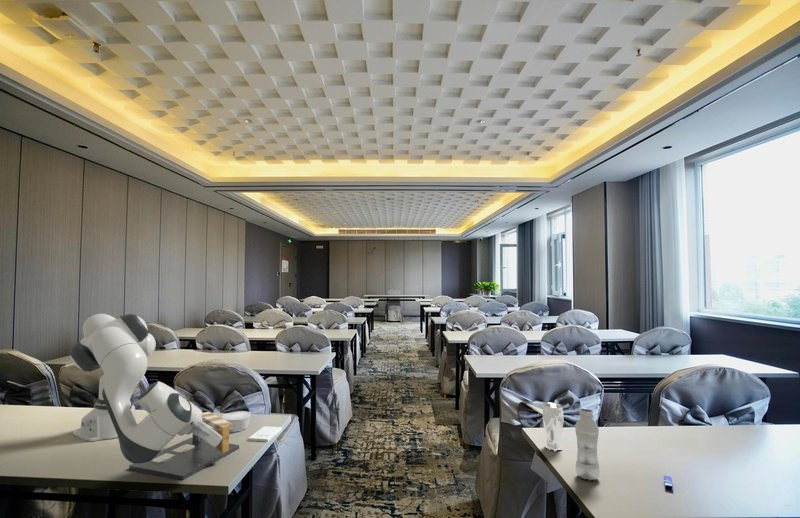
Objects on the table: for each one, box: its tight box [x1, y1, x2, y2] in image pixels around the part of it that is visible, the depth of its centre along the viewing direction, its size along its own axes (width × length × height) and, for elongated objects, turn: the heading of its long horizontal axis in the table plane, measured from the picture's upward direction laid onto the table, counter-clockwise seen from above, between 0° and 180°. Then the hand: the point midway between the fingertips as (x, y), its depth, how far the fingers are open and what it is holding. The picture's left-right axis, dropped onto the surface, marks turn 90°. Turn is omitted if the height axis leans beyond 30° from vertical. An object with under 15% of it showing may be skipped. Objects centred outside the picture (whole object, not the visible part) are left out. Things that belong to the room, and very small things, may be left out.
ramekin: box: [221, 410, 252, 433], centre depth 162 cm, size 11×11×5 cm
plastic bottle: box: [574, 408, 601, 481], centre depth 121 cm, size 6×7×20 cm
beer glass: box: [542, 402, 564, 451], centre depth 143 cm, size 7×7×15 cm
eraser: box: [663, 475, 674, 492], centre depth 116 cm, size 2×6×2 cm, turn 148°
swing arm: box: [201, 411, 233, 453], centre depth 139 cm, size 20×4×8 cm, turn 49°
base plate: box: [128, 409, 240, 481], centre depth 135 cm, size 22×24×12 cm
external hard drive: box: [246, 425, 283, 443], centre depth 155 cm, size 2×8×12 cm
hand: (217, 442), depth 132 cm, fingers closed
